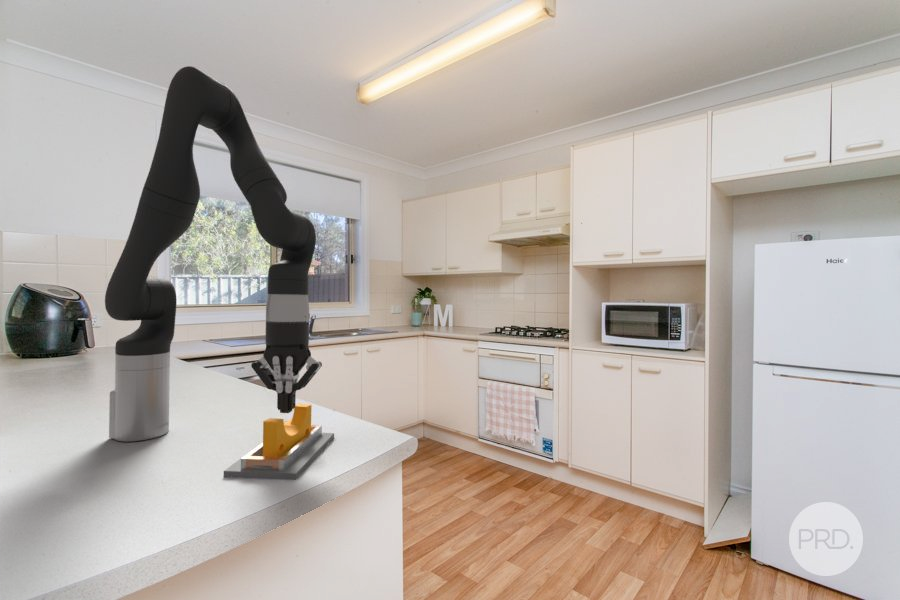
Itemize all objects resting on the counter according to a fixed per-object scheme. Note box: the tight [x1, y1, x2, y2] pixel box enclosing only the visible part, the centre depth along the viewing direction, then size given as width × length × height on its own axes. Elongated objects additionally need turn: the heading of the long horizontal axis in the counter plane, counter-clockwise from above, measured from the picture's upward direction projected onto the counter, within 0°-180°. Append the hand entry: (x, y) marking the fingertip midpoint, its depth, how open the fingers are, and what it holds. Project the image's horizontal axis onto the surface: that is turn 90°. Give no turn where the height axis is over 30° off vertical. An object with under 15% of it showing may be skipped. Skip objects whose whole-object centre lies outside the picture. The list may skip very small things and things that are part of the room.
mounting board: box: [223, 432, 335, 481], centre depth 77 cm, size 12×20×1 cm, turn 178°
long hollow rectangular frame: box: [240, 424, 323, 471], centre depth 77 cm, size 7×18×2 cm, turn 178°
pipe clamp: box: [262, 403, 312, 457], centre depth 77 cm, size 12×4×6 cm, turn 171°
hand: (286, 412), depth 77 cm, fingers closed
